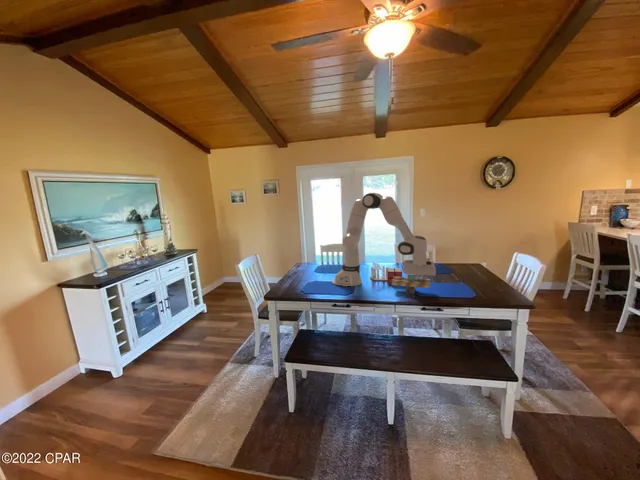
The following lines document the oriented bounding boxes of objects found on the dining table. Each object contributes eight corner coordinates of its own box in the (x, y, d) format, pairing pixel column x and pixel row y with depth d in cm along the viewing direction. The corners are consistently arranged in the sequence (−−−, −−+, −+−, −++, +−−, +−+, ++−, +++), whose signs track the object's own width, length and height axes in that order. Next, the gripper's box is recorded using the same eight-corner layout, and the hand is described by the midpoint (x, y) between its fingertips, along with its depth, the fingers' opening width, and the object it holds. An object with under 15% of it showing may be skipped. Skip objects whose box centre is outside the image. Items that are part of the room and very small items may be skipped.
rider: (407, 283, 182) (407, 275, 181) (408, 281, 186) (408, 273, 185) (414, 283, 180) (414, 276, 179) (415, 281, 184) (415, 274, 183)
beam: (391, 292, 185) (391, 280, 183) (393, 287, 193) (393, 276, 191) (429, 296, 175) (429, 283, 174) (430, 291, 184) (430, 278, 182)
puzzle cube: (402, 285, 198) (402, 271, 196) (387, 284, 200) (387, 271, 198) (400, 280, 208) (400, 267, 206) (387, 280, 210) (387, 267, 208)
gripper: (402, 261, 180) (402, 281, 182) (436, 262, 172) (435, 283, 174) (403, 258, 185) (403, 278, 188) (436, 260, 177) (435, 280, 180)
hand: (419, 280), depth 181 cm, fingers closed
